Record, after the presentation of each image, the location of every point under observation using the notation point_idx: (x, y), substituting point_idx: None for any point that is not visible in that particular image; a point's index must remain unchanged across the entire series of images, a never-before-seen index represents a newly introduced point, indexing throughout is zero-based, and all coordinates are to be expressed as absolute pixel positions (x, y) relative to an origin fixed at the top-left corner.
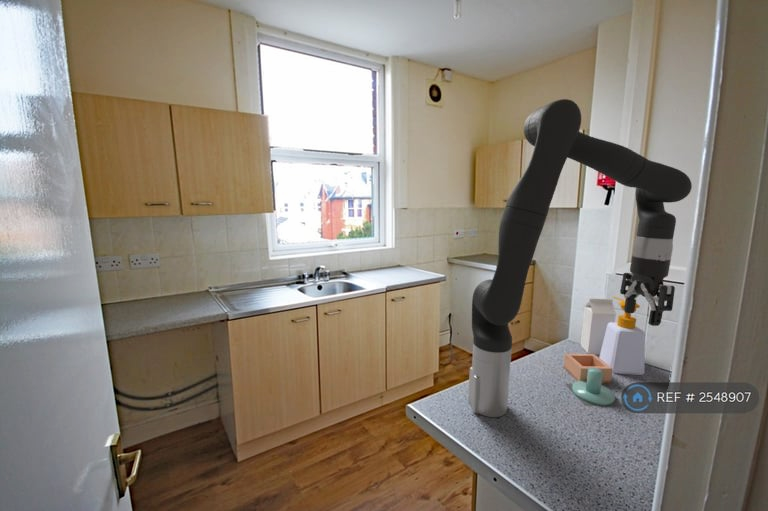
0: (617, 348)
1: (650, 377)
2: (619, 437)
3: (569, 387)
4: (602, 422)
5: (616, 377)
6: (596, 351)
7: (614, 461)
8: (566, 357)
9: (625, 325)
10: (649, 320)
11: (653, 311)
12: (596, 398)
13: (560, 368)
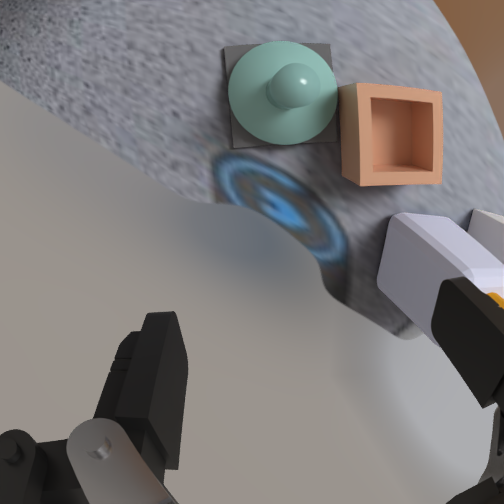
0: (430, 247)
1: (368, 294)
2: (111, 81)
3: (312, 46)
4: (160, 64)
5: (374, 213)
6: (473, 230)
7: (50, 51)
8: (429, 91)
9: None
10: (159, 329)
11: (120, 416)
12: (244, 81)
13: (415, 85)
